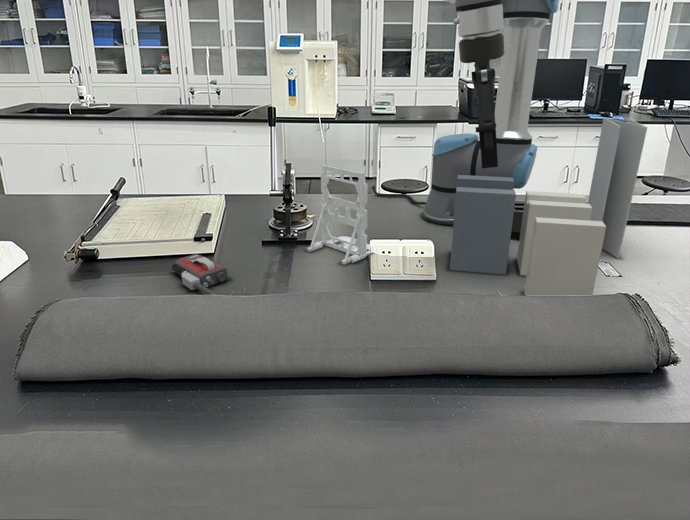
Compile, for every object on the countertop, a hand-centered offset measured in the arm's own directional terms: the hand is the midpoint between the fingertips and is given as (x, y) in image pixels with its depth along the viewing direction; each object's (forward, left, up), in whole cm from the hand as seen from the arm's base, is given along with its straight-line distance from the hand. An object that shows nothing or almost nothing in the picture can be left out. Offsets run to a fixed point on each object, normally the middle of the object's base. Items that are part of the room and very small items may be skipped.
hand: (488, 157), depth 99 cm
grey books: (-8, +10, -27) cm, 30 cm away
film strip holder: (-33, -10, -27) cm, 43 cm away
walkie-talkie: (-35, -44, -27) cm, 62 cm away
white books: (+3, +20, -27) cm, 34 cm away
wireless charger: (-18, +37, -27) cm, 49 cm away
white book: (+13, +9, -27) cm, 31 cm away
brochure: (+2, +42, -27) cm, 50 cm away
